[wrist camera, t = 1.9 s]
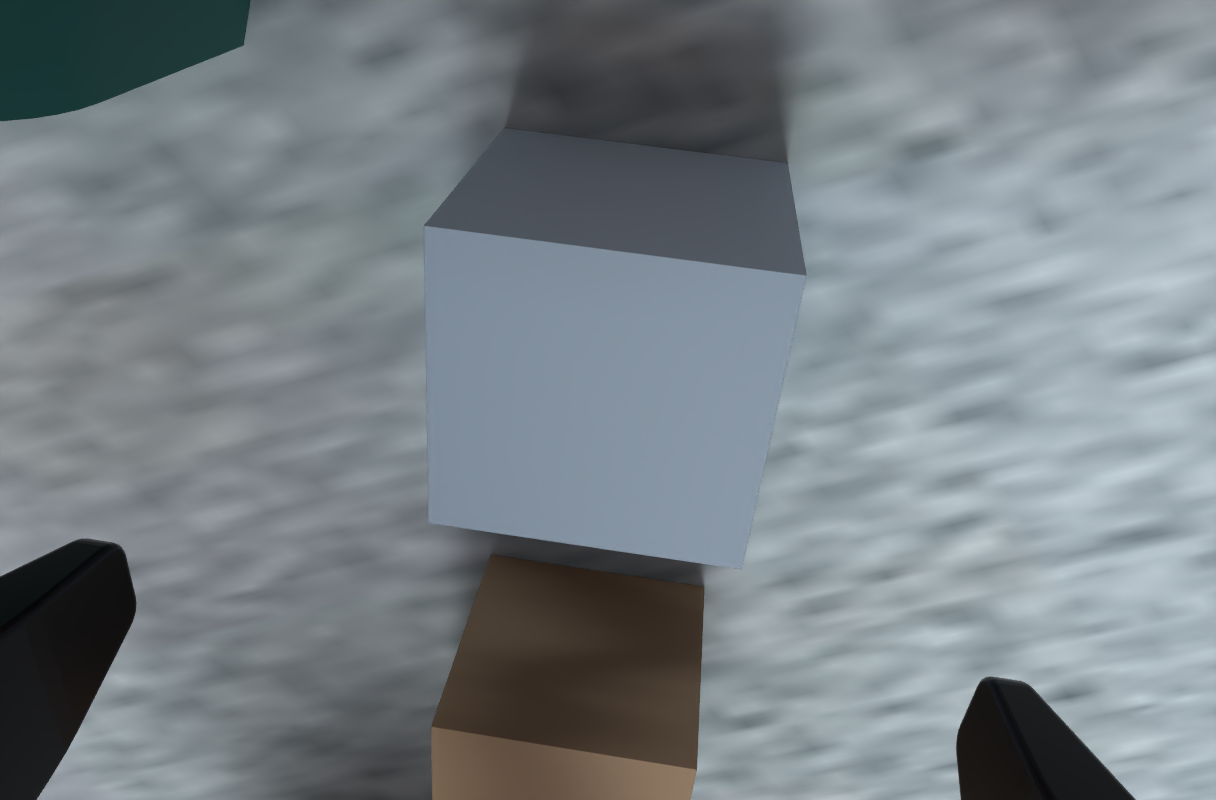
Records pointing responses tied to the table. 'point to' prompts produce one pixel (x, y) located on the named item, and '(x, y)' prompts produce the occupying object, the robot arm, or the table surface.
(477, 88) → the table surface
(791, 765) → the table surface
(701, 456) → the blue cube
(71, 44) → the bracket
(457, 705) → the walnut cube
